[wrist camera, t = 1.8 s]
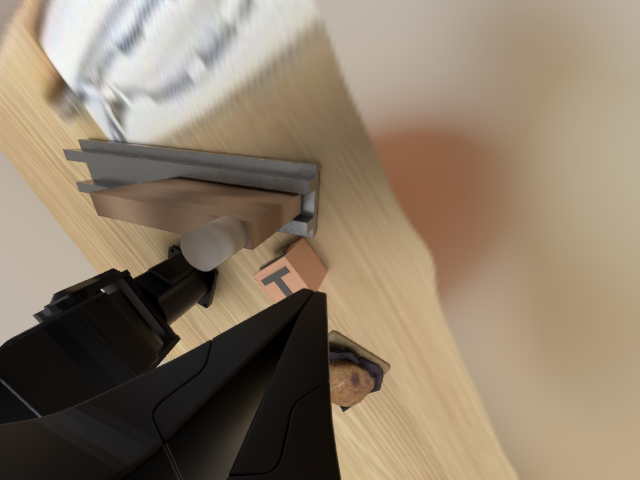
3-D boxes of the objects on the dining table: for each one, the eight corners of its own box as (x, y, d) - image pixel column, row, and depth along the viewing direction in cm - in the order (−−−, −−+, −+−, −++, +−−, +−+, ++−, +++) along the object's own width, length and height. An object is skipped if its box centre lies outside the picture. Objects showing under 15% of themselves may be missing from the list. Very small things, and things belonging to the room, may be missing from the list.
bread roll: (331, 321, 25) (321, 348, 22) (398, 364, 24) (398, 399, 21) (295, 368, 30) (282, 395, 27) (349, 404, 29) (343, 437, 26)
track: (320, 163, 18) (309, 167, 16) (316, 233, 20) (306, 245, 18) (89, 139, 24) (58, 139, 22) (108, 194, 27) (82, 199, 25)
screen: (301, 190, 18) (217, 236, 10) (300, 215, 19) (222, 276, 10) (179, 173, 21) (36, 197, 13) (183, 195, 22) (52, 230, 13)
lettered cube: (328, 270, 22) (314, 296, 18) (298, 285, 23) (280, 311, 20) (302, 235, 21) (282, 255, 17) (273, 253, 23) (250, 275, 19)
